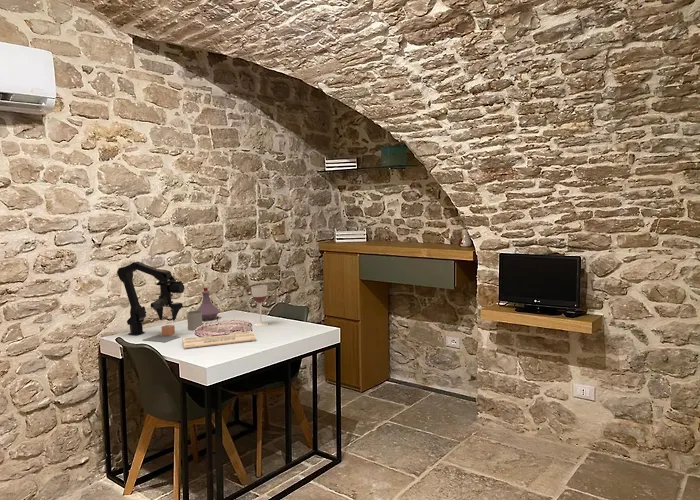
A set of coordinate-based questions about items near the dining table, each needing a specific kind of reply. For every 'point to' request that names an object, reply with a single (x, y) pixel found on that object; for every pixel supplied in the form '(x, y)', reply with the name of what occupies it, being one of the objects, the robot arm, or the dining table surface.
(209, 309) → the flask
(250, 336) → the wooden board
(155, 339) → the mat
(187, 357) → the dining table surface
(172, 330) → the block
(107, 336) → the dining table surface
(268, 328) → the dining table surface
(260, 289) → the wineglass
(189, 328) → the cup
